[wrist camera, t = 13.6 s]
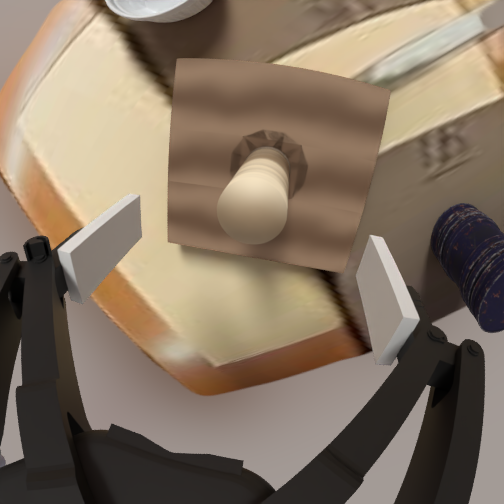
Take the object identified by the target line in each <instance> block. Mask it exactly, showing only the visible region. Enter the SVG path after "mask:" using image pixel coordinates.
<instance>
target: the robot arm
mask: <svg viewBox="0 0 504 504" xmlns="http://www.w3.org/2000/svg"><path fill="white" fill-rule="evenodd" d="M141 237H142V230H141V210H140V195H135V194H128V195H126V196H125V197H124V198H122V199H121V200H120V201H118V202H117V203H115V204H114V205H113V206H111V207H110V208H109V209H107V210H106V211H105V212H103V213H102V214H101V215H100V216H98V217H97V218H96V219H94V220H93V221H92V222H91V223H89V224H88V225H87V226H85V227H83V228H81V229H79V230H77V231H75V232H74V233H73V234H71V235H70V236H69V237H68V238H66V239H65V240H64V241H63V242H62V243H60V244H59V245H58V246H57V247H56V248H55V249H53V250H52V251H51V248H50V244H49V239H48V237H46V236H36V237H33V238H31V239H29V240H27V242H25V244H24V245H23V247H24V251H25V254H26V258H27V261H20V260H19V257H18V254H17V253H16V252H6V253H4V254H2V256H0V445H1V441H2V436H3V431H4V425H5V417H6V409H7V402H8V395H9V390H10V384H11V379H12V374H13V369H14V364H15V360H16V356H17V352H18V348H19V344H20V340H21V363H22V386H18V387H17V388H16V404H17V415H18V423H19V430H20V437H21V442H22V449H23V454H24V458H23V459H21V460H18V461H16V462H13V463H11V464H8V465H6V466H5V459H4V457H3V456H2V455H1V450H0V504H345V502H346V501H347V500H348V499H349V498H350V497H351V496H352V495H353V494H354V493H355V492H356V490H357V489H358V488H359V487H360V485H361V484H362V482H363V481H364V480H363V477H364V476H365V474H366V473H367V472H368V471H369V469H370V468H371V467H372V466H373V464H374V463H375V462H376V460H377V459H378V458H379V457H380V455H381V454H382V453H383V451H384V450H385V449H386V447H387V446H388V445H389V443H390V442H391V440H392V439H393V438H394V436H395V435H396V433H397V432H398V430H399V429H400V427H401V426H402V424H403V423H404V421H405V420H406V418H407V417H408V415H409V413H410V412H411V410H412V408H413V407H414V405H415V404H416V402H417V400H418V399H419V397H420V395H421V394H422V392H423V390H424V388H425V387H426V385H429V386H431V388H430V393H429V397H428V402H427V406H426V410H425V415H424V419H423V422H422V426H421V430H420V433H419V437H418V440H417V443H416V446H415V450H414V453H413V456H412V459H411V462H410V465H409V467H408V470H407V473H406V476H405V478H404V481H403V483H402V486H401V488H400V491H399V493H398V495H397V498H396V500H395V503H394V504H468V503H469V500H470V496H471V492H472V487H473V483H474V478H475V474H476V468H477V463H478V457H479V450H480V443H481V435H482V426H483V413H484V395H485V360H484V352H483V349H482V348H481V346H480V345H479V344H478V343H477V342H475V341H473V340H470V339H465V340H464V341H463V342H462V343H461V345H460V346H457V345H455V344H452V343H449V342H447V341H448V340H447V337H446V335H445V334H444V332H443V331H441V330H440V329H439V328H438V327H436V326H433V325H432V324H431V321H430V319H429V317H428V314H427V312H426V310H425V308H424V305H423V303H422V302H421V299H420V297H419V295H418V293H417V292H416V291H415V290H414V289H413V287H412V286H406V285H405V283H404V281H403V279H402V276H401V274H400V272H399V270H398V268H397V266H396V264H395V262H394V259H393V257H392V255H391V253H390V251H389V249H388V247H387V245H386V243H385V241H384V239H383V238H382V237H378V236H373V235H370V237H369V240H368V243H367V246H366V249H365V251H364V254H363V257H362V260H361V263H360V265H359V268H358V271H357V274H356V279H357V283H358V287H359V291H360V295H361V299H362V303H363V307H364V312H365V316H366V320H367V325H368V330H369V334H370V339H371V344H372V349H373V354H374V360H375V364H379V365H391V364H392V363H393V361H394V360H395V358H396V357H397V359H398V364H397V366H396V367H395V369H394V370H393V371H392V373H391V374H390V375H389V377H388V378H387V379H386V380H385V382H384V383H383V384H382V386H381V387H380V388H379V389H378V391H377V392H376V393H375V394H374V396H373V397H372V398H371V399H370V400H369V402H368V403H367V404H366V405H365V406H364V408H363V409H362V410H361V411H360V412H359V413H358V414H357V415H356V417H355V418H354V419H353V420H352V421H351V422H350V423H349V424H348V425H347V426H346V427H345V429H344V430H343V431H342V432H341V433H340V434H339V435H338V436H337V437H336V438H335V439H334V440H333V441H332V442H331V443H330V444H329V445H328V446H327V447H326V448H325V449H324V450H323V451H322V452H321V453H319V454H318V455H317V456H316V457H315V458H314V459H313V460H312V461H311V462H310V463H309V464H308V465H307V466H305V467H304V468H303V469H302V470H301V471H300V472H299V473H298V474H297V475H295V476H294V477H293V478H292V479H291V480H289V481H288V482H287V483H286V484H285V485H283V486H282V487H281V488H280V489H278V490H277V491H275V489H274V488H273V487H272V486H271V485H270V484H269V483H268V482H267V481H265V480H264V479H263V478H262V477H260V476H259V475H257V474H255V473H254V472H252V471H250V470H247V469H245V468H243V467H242V466H243V461H242V460H236V459H231V458H226V457H221V456H216V455H211V454H185V453H172V452H169V451H167V450H166V449H164V448H162V447H161V446H159V445H157V444H155V443H154V442H152V441H150V440H149V439H147V438H146V437H144V436H142V435H141V434H138V433H135V432H132V431H130V430H127V429H124V428H122V427H119V426H117V425H114V424H111V426H110V429H109V430H92V429H91V427H90V425H89V423H88V420H87V418H86V414H85V411H84V407H83V403H82V399H81V395H80V391H79V386H78V382H77V377H76V372H75V367H74V361H73V356H72V350H71V344H70V337H69V330H68V322H67V312H66V302H65V298H64V294H65V293H66V292H67V291H68V292H69V295H70V299H71V300H72V301H75V302H78V303H81V304H84V302H85V301H86V300H87V299H88V298H89V296H90V295H91V294H92V293H93V292H94V290H95V289H96V288H97V287H98V286H99V284H100V283H101V282H102V281H103V280H104V279H105V277H106V276H107V275H108V274H109V273H110V272H111V270H112V269H113V268H114V267H115V266H116V265H117V264H118V263H119V261H120V260H121V259H122V258H123V257H124V256H125V255H126V254H127V253H128V251H129V250H130V249H131V248H132V247H133V246H134V245H135V244H136V243H137V242H138V241H139V239H140V238H141ZM8 297H9V298H8Z"/></svg>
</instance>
